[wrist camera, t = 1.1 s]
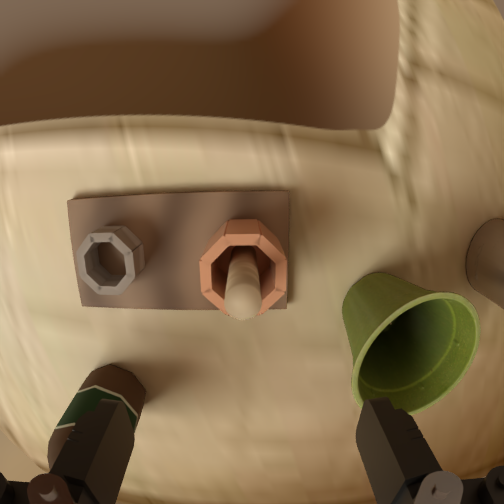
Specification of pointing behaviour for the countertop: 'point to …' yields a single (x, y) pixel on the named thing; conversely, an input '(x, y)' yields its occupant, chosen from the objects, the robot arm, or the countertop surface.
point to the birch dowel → (243, 284)
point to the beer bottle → (88, 396)
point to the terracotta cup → (219, 255)
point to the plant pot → (407, 341)
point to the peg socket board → (160, 244)
